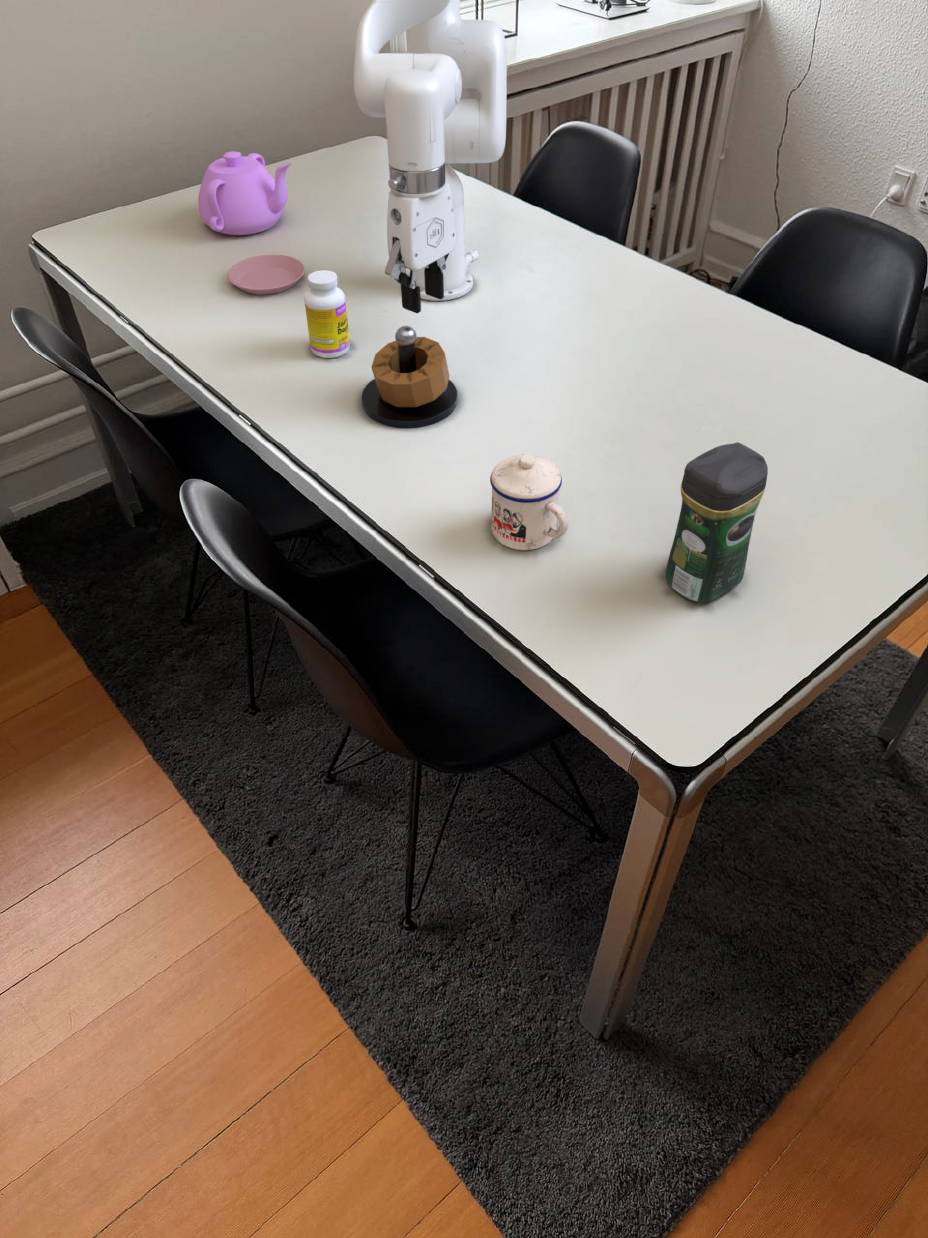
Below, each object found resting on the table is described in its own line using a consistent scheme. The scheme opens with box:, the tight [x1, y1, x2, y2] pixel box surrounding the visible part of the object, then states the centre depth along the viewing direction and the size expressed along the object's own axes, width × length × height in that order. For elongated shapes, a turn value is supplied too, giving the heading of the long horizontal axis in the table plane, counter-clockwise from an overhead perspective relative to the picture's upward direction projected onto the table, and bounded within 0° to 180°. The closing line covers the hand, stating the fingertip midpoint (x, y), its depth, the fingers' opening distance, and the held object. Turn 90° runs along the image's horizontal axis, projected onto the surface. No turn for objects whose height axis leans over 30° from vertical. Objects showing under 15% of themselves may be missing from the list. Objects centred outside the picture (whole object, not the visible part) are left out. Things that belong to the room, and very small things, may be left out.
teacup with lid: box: [489, 454, 569, 551], centre depth 121 cm, size 12×9×12 cm
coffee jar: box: [664, 441, 769, 604], centre depth 112 cm, size 10×8×19 cm
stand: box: [360, 325, 459, 429], centre depth 144 cm, size 15×15×13 cm
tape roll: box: [371, 336, 450, 407], centre depth 145 cm, size 11×11×4 cm
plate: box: [227, 254, 306, 296], centre depth 177 cm, size 14×14×2 cm
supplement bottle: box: [303, 269, 351, 359], centre depth 155 cm, size 7×7×13 cm
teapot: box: [197, 150, 292, 236], centre depth 191 cm, size 22×22×14 cm
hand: (423, 301), depth 140 cm, fingers open, 4 cm apart
